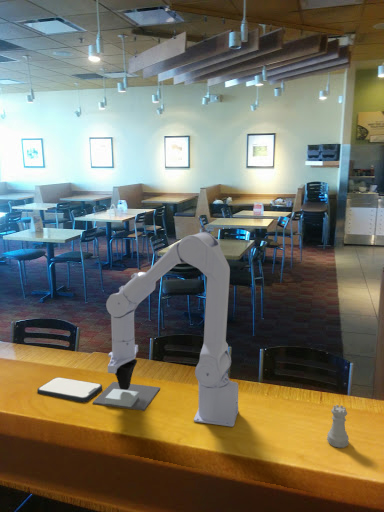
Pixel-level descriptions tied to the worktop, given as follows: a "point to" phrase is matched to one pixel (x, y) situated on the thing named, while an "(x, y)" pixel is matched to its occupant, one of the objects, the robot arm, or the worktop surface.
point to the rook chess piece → (338, 428)
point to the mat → (144, 391)
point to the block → (121, 397)
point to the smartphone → (70, 389)
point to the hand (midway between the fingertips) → (124, 388)
